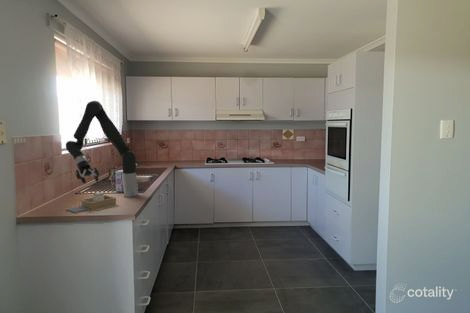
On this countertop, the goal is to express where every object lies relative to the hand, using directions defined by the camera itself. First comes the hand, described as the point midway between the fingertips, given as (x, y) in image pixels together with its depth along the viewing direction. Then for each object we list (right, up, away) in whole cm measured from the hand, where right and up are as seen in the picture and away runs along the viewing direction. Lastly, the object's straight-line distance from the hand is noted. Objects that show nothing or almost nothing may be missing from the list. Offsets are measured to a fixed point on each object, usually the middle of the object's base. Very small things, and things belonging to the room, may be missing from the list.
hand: (91, 181), depth 223 cm
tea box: (+7, -15, -4) cm, 17 cm away
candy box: (+7, -10, +44) cm, 46 cm away
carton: (+7, -15, -4) cm, 17 cm away
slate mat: (-2, -16, -15) cm, 22 cm away
